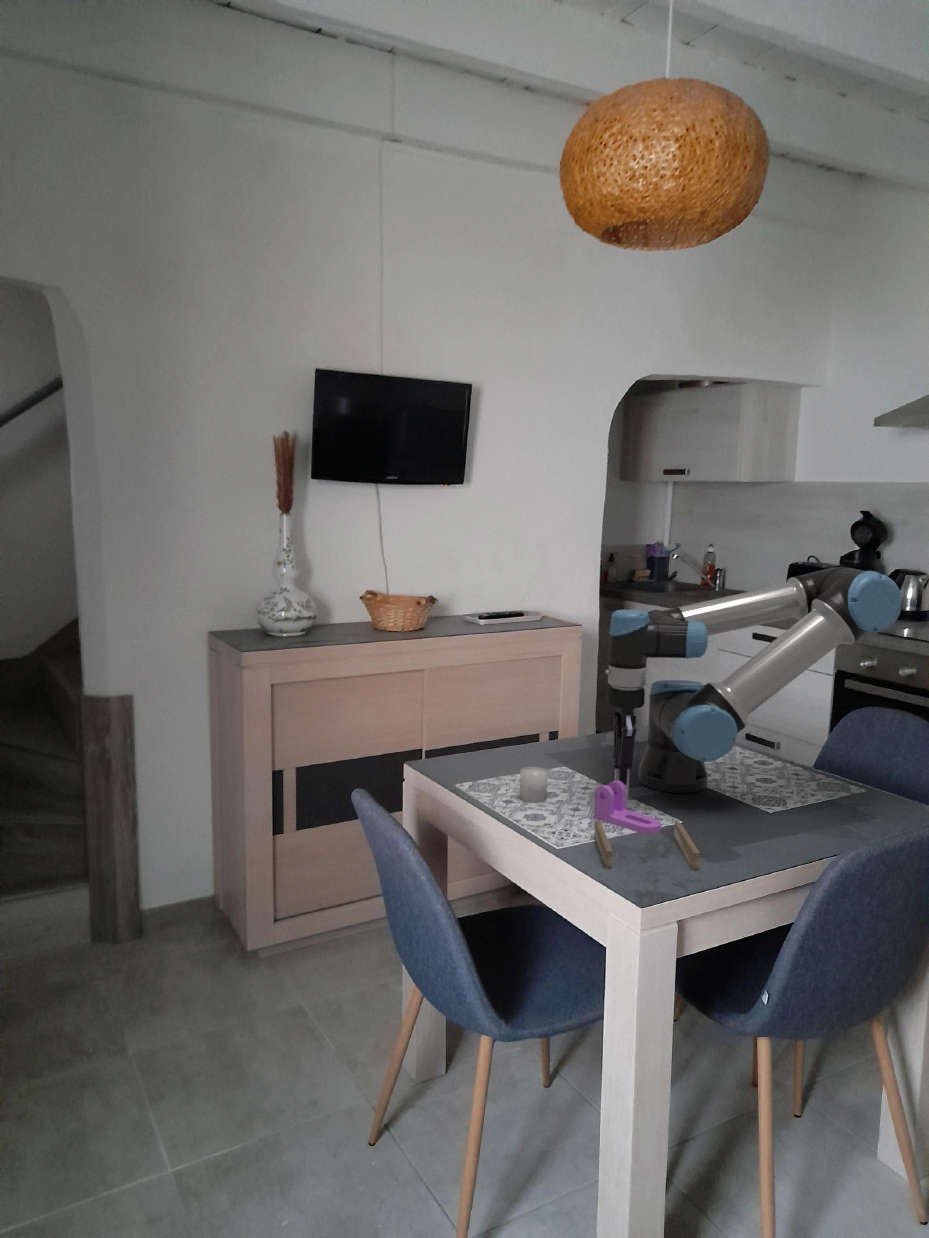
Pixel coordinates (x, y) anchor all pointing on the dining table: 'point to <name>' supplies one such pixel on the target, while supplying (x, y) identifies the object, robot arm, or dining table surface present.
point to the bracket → (621, 810)
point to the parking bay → (679, 835)
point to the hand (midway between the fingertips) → (620, 797)
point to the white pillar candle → (533, 784)
